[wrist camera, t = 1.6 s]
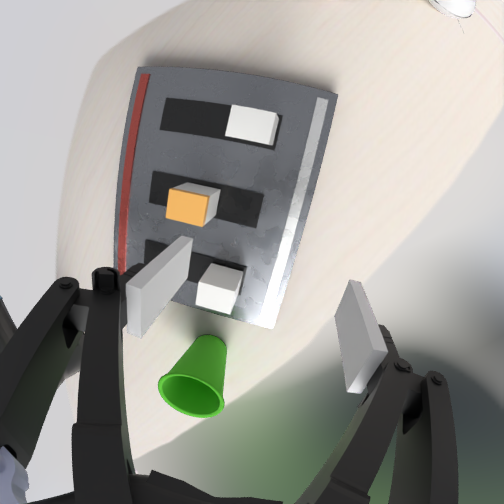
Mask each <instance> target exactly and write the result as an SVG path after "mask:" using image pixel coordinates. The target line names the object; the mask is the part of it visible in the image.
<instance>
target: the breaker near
mask: <svg viewBox="0 0 504 504" xmlns="http://www.w3.org/2000/svg"><path fill="white" fill-rule="evenodd" d="M278 121H279V118H278V116H277V114H276V113H274V112H269V111H264V110H259V109H254V108H249V107H243V106H238V105H232V107H231V112H230V116H229V120H228V125H227V129H226V134H225V136H229V137H234V138H239V139H244V140H249V141H254V142H259V143H263V144H268V145H273V142H274V138H275V134H276V129H277V125H278Z"/></svg>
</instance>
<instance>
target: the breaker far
mask: <svg viewBox="0 0 504 504" xmlns="http://www.w3.org/2000/svg"><path fill="white" fill-rule="evenodd" d="M242 276H243V271H239V270H235V269H231V268H228V267H224V266H220V265H216V264H213V263H211V264H210V266H209V267H208V269H207V270H206V272H205V273H204V275H203V276H202V278H201V279H200V280H199V283H198V290H197V297H196V304H195V305H198V306H202V307H205V308H208V309H212V310H215V311H219V312H222V313H226V314H231V311H232V308H233V306H234V303H235V301H236V298H237V295H238V293H239V289H240V284H241V280H242Z"/></svg>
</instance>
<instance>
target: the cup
mask: <svg viewBox="0 0 504 504" xmlns="http://www.w3.org/2000/svg"><path fill="white" fill-rule="evenodd" d="M226 355H227V349H226V346H225V344H224V342H223V341H222V340H221V339H219V338H218V337H216V336H213V335H203V336H200V337H198V338H197V339H196V340H195V341H194V343H193V344H192V345H191V346H190V347H189V349H188V350H187V351H186V352H185V353H184V355H183V356H182V357H181V358H180V359H179V361H178V362H177V363H176V364H175V365H174V367H173V368H172V369H171V370H170V371H169V373H168V374H165V375H164V376H162V377H161V378H160V380H159V382H158V389H159V393H160V395H161V397H162V398H163V399H164V400H165V402H166V403H168V404H169V405H170V406H171V407H173V408H174V409H176V410H177V411H179V412H181V413H184V414H186V415H189V416H193V417H199V418H207V417H213V416H215V415H217V414H219V413H220V412H221V411H222V410H223V408H224V399H223V386H224V376H225V365H226Z"/></svg>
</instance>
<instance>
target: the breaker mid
mask: <svg viewBox="0 0 504 504" xmlns="http://www.w3.org/2000/svg"><path fill="white" fill-rule="evenodd" d="M220 190H221V189H216V188H212V187H207V186H202V185H198V184H193V183H188V182H187V183H184V184H181V185H179V186H176V187H173V188H171V189H169V195H168V202H167V210H166V218H168V219H172V220H176V221H180V222H184V223H188V224H192V225H196V226H200V227H203V226H204V225H205V224H206V223H207V222H209V221H210V220H211V219H212V218H213V217H214V216H215V215H216V211H217V206H218V201H219V195H220Z"/></svg>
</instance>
